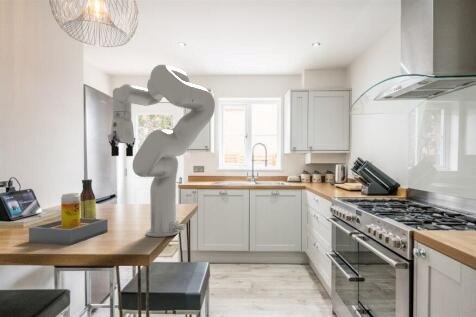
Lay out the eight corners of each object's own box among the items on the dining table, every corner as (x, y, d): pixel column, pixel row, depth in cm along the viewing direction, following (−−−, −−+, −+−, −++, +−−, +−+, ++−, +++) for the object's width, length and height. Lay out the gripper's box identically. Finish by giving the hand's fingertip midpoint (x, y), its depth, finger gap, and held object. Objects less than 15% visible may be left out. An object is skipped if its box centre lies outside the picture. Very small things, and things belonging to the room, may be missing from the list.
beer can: (72, 236, 104) (71, 195, 104) (57, 235, 105) (57, 194, 105) (83, 232, 110) (83, 193, 110) (69, 231, 111) (69, 192, 111)
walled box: (107, 231, 114) (107, 219, 114) (70, 245, 96) (70, 230, 96) (70, 229, 118) (70, 217, 118) (28, 241, 101) (28, 227, 101)
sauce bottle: (99, 221, 135) (98, 178, 135) (91, 224, 128) (90, 179, 128) (86, 221, 135) (85, 179, 135) (77, 224, 129) (76, 179, 129)
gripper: (116, 113, 116) (116, 155, 116) (141, 119, 132) (141, 156, 132) (100, 114, 118) (101, 156, 117) (127, 120, 134) (127, 156, 134)
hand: (122, 156), depth 125 cm, fingers open, 9 cm apart
